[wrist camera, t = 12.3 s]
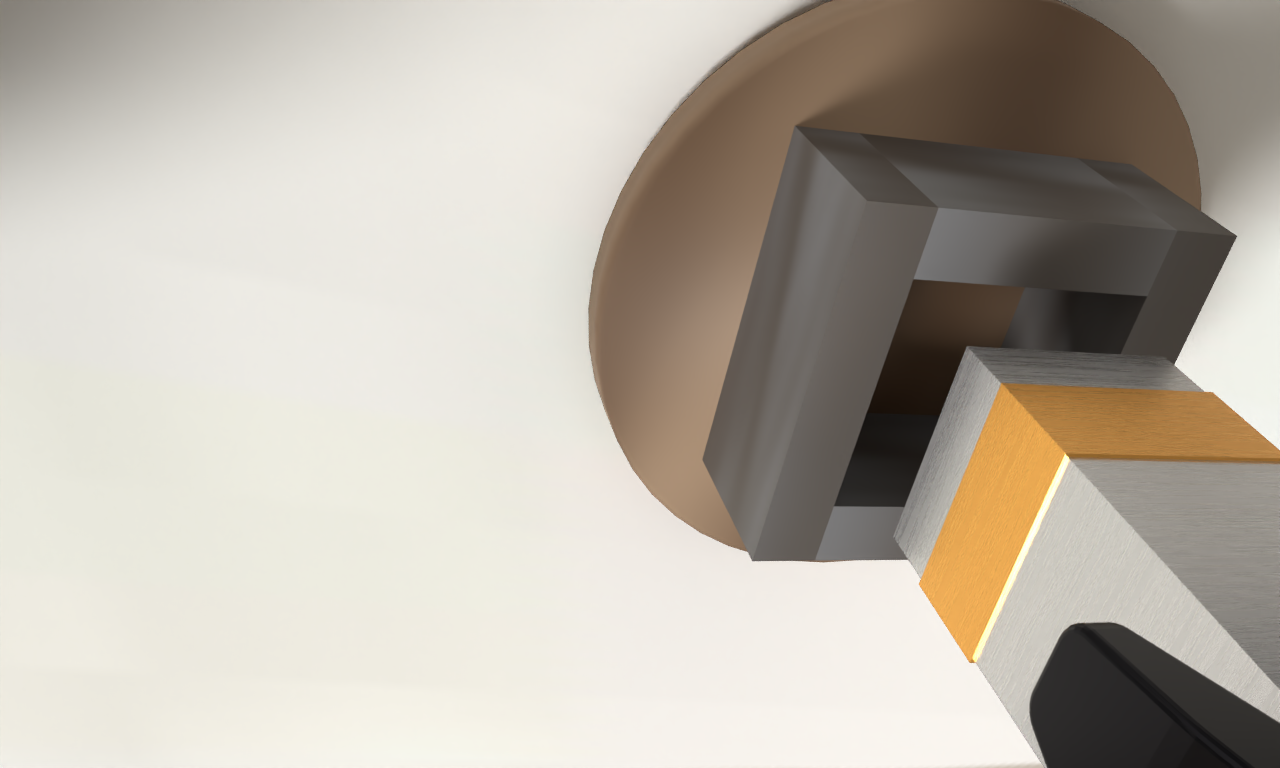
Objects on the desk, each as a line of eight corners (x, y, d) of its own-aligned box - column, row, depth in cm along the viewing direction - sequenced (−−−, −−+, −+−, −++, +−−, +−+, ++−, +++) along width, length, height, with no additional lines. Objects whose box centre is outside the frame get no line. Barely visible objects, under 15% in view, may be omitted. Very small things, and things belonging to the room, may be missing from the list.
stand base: (540, 532, 25) (581, 675, 22) (663, -75, 19) (746, -2, 16) (1038, 532, 29) (1136, 653, 26) (1271, 25, 23) (1438, 101, 20)
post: (889, 539, 20) (1420, 1355, 11) (964, 343, 18) (1679, 1126, 9) (1079, 538, 21) (1701, 1273, 12) (1168, 354, 19) (1983, 1058, 10)
